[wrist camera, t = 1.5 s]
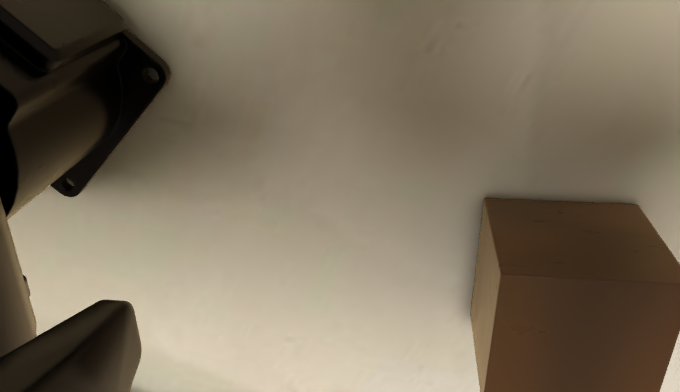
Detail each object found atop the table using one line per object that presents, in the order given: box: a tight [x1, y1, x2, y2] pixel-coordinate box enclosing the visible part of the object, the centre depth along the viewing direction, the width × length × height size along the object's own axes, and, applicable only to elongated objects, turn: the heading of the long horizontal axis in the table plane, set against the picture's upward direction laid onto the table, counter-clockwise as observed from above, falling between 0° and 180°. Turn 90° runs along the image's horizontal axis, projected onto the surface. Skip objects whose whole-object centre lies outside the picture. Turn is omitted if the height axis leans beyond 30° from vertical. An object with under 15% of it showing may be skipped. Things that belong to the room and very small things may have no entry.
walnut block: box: [471, 198, 680, 392], centre depth 19 cm, size 5×5×4 cm
